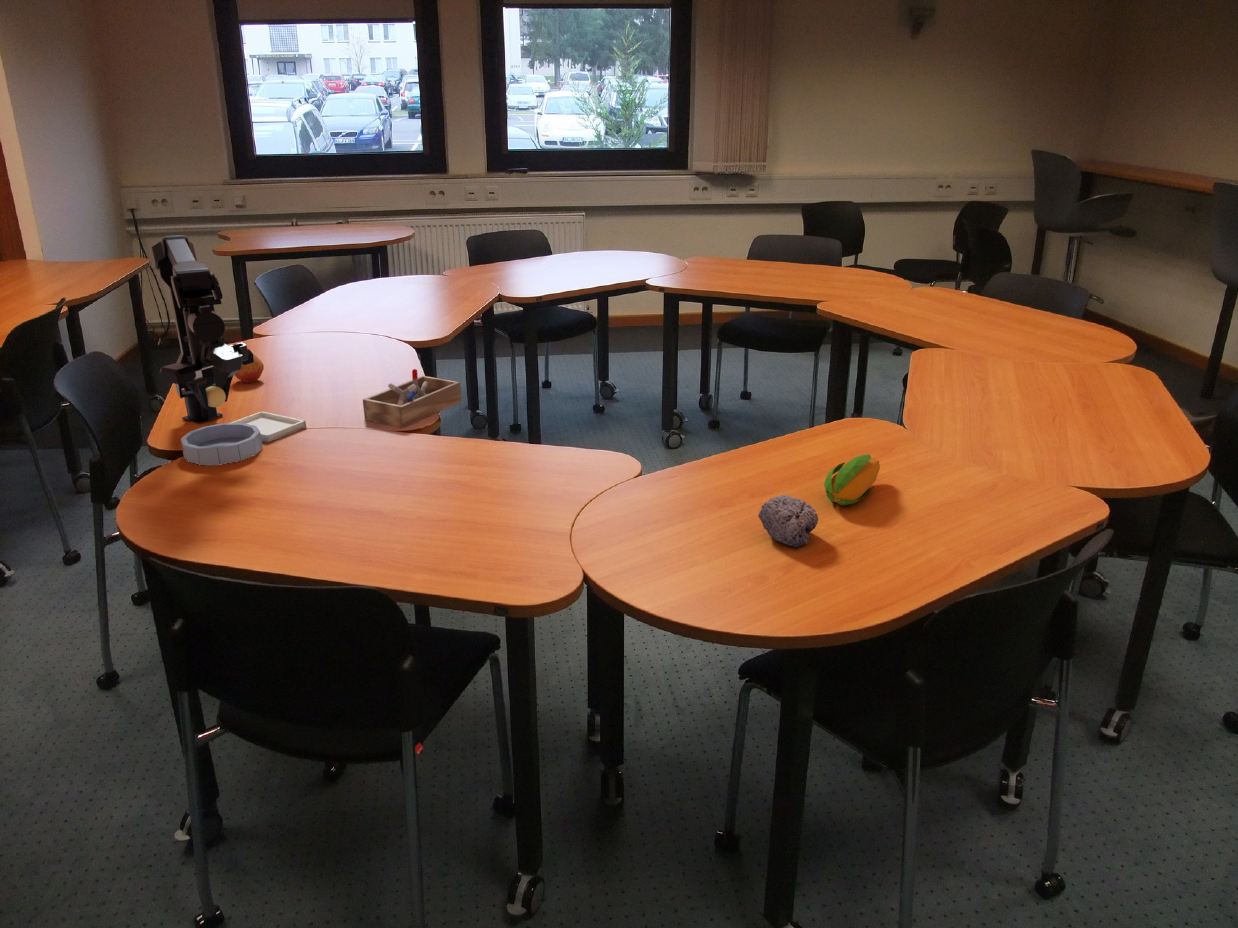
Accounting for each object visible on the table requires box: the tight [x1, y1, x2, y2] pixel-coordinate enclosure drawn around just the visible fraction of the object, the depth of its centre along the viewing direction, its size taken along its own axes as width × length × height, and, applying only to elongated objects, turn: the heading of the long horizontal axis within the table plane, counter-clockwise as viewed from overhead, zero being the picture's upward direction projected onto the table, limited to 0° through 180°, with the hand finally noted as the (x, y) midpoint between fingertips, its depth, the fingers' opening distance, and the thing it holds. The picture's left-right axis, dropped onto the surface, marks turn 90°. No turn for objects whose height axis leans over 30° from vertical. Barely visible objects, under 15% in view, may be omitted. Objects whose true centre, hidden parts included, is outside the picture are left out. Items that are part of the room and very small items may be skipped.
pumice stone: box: [757, 494, 819, 549], centre depth 154 cm, size 10×8×10 cm
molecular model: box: [387, 368, 428, 405], centre depth 215 cm, size 18×8×10 cm, turn 174°
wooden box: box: [362, 375, 462, 429], centre depth 216 cm, size 12×22×5 cm, turn 152°
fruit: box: [234, 353, 265, 384], centre depth 237 cm, size 8×8×8 cm
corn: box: [823, 453, 881, 506], centre depth 171 cm, size 7×8×20 cm
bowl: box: [180, 422, 264, 466], centre depth 191 cm, size 15×15×4 cm
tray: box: [230, 411, 307, 443], centre depth 204 cm, size 14×11×2 cm
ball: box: [206, 386, 226, 408], centre depth 187 cm, size 4×4×4 cm
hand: (215, 404), depth 188 cm, fingers closed on ball, 4 cm apart
